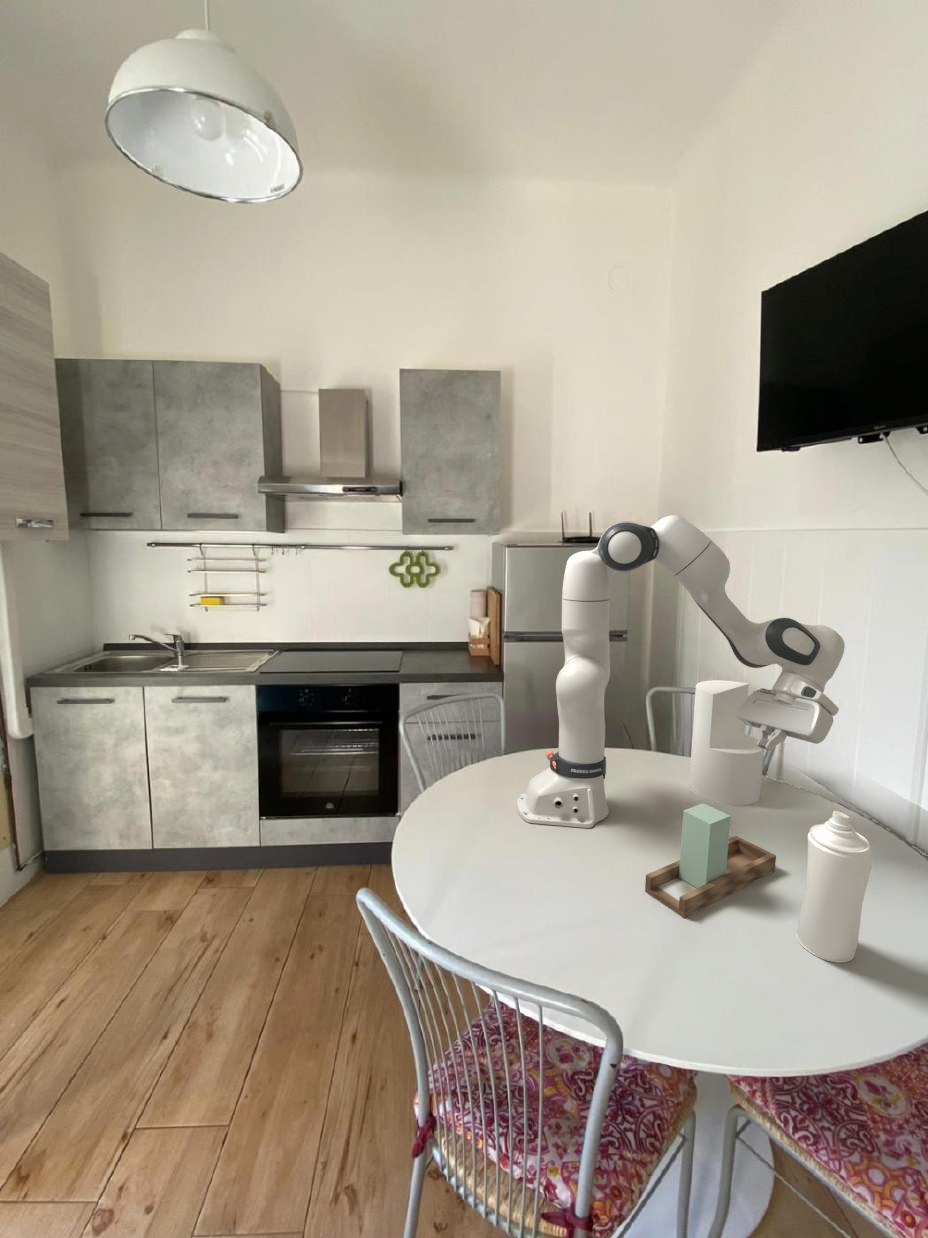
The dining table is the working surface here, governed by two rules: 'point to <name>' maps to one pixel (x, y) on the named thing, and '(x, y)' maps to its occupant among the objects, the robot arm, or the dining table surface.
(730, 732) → the cylinder
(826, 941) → the spray can
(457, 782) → the dining table surface
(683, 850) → the block
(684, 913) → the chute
